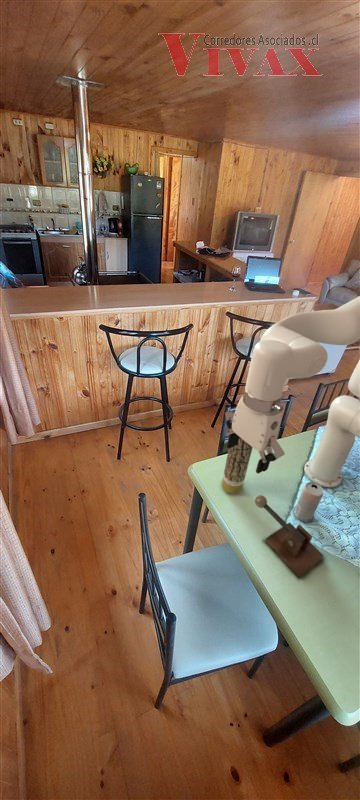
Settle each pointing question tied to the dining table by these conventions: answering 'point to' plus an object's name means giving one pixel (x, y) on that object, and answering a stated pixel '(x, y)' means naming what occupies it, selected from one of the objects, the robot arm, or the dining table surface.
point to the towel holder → (294, 549)
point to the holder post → (277, 517)
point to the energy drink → (308, 501)
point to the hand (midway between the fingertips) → (246, 457)
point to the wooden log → (236, 467)
